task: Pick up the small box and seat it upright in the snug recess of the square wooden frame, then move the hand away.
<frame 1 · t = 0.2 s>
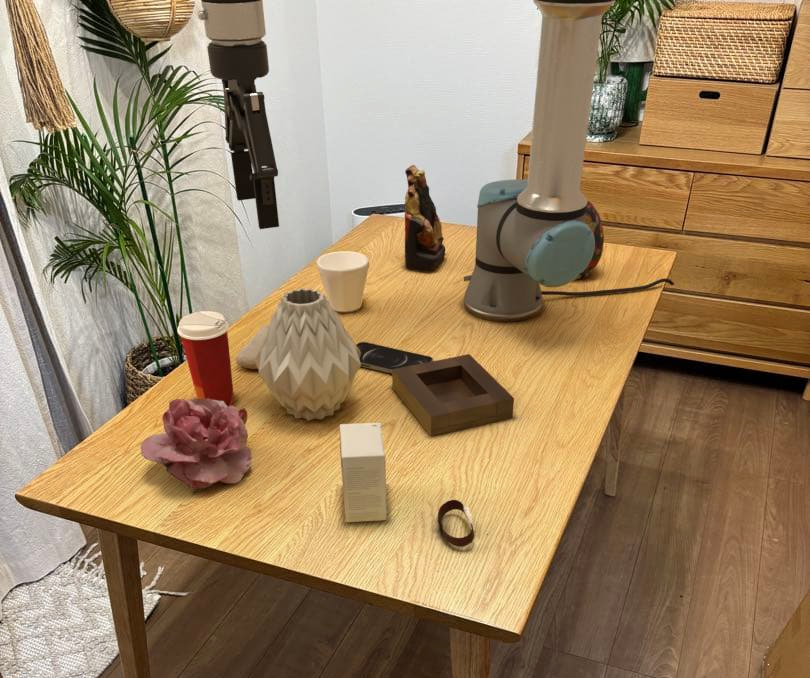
hand: (257, 212, 114), 28 cm above the table, tool pointing down, fingers open, 13 cm apart
small box: (364, 505, 107), on the table
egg: (573, 274, 168), on the table
flower: (204, 468, 114), on the table
smartphone: (387, 362, 138), on the table
statue: (426, 263, 174), on the table
cup: (345, 307, 156), on the table
washcloth: (288, 352, 142), on the table
square wooden frame: (450, 402, 128), on the table
vase: (313, 408, 127), on the table
paper cup: (216, 402, 128), on the table
watch: (456, 532, 103), on the table
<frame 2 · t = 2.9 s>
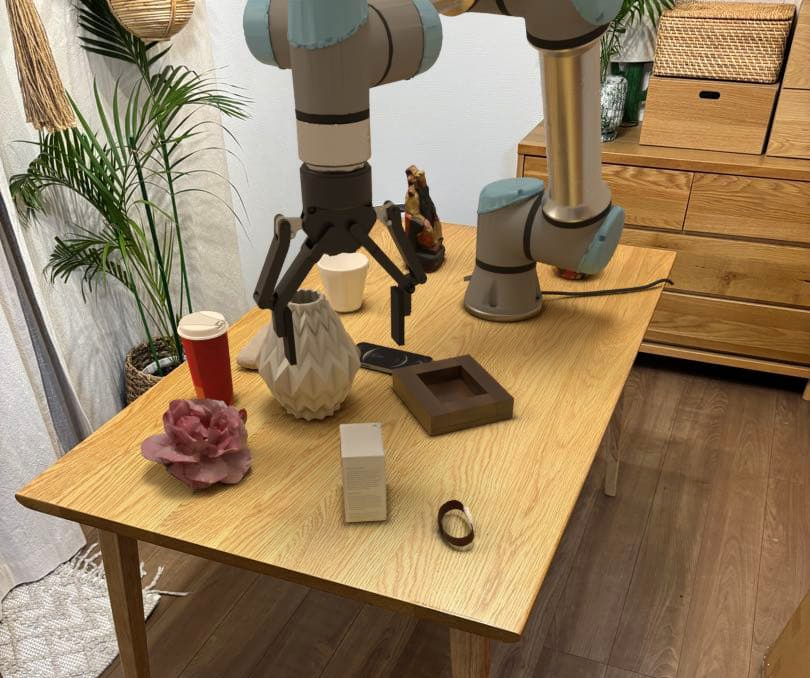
hand: (345, 350, 96), 21 cm above the table, tool pointing down, fingers open, 13 cm apart
nothing on the table moved.
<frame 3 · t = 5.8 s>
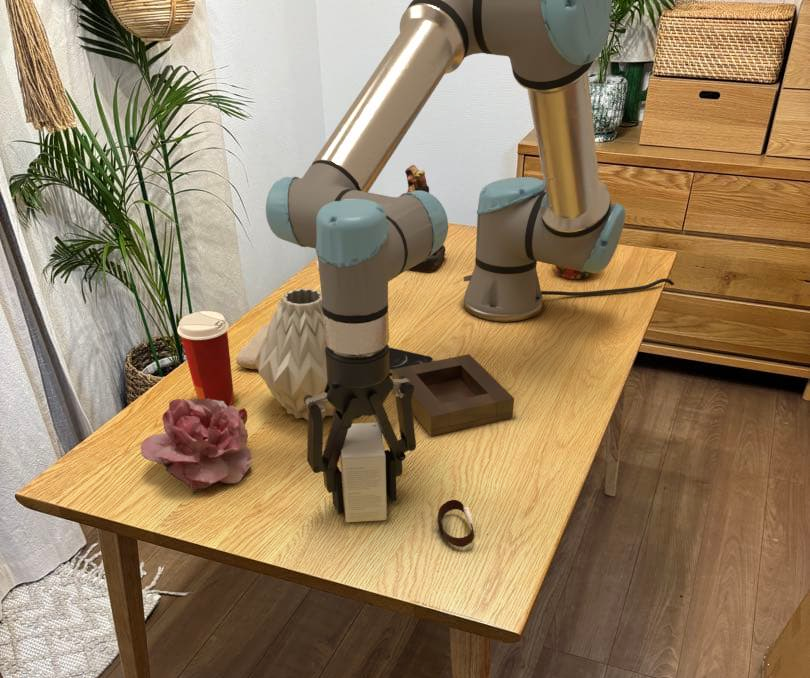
hand: (364, 501, 107), 1 cm above the table, tool pointing down, fingers closed on small box, 7 cm apart
small box: (364, 505, 107), on the table, touching gripper
everything else where it was.
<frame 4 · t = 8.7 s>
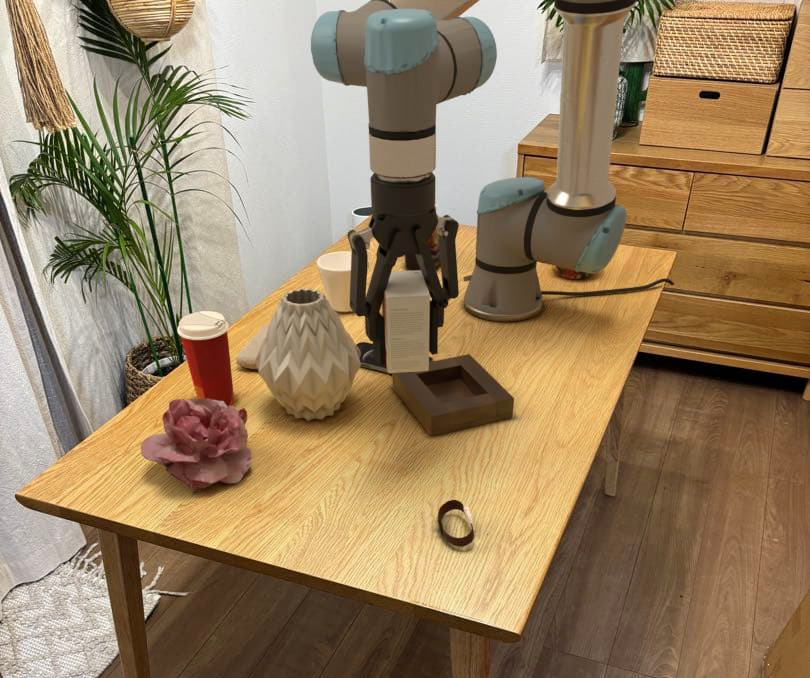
hand: (405, 355, 105), 16 cm above the table, tool pointing down, fingers closed on small box, 7 cm apart
small box: (405, 359, 106), point 16 cm above the table, touching gripper
everything else where it was.
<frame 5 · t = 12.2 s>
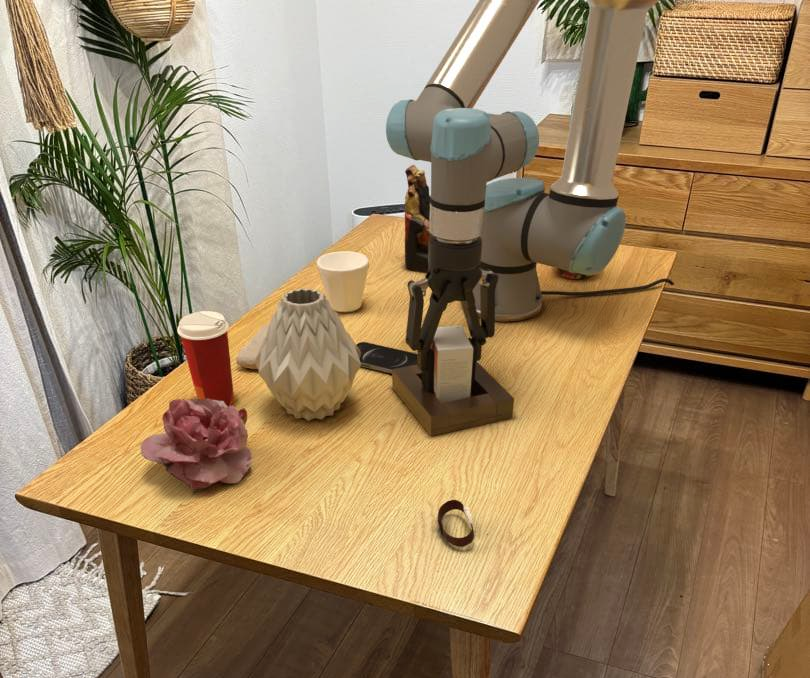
hand: (448, 383, 125), 4 cm above the table, tool pointing down, fingers closed on small box, 6 cm apart
small box: (447, 398, 127), point 1 cm above the table, touching gripper, square wooden frame
everything else where it was.
when the fingers open (4 cm above the table, at t = 13.5 s): small box stays where it is, resting on square wooden frame.
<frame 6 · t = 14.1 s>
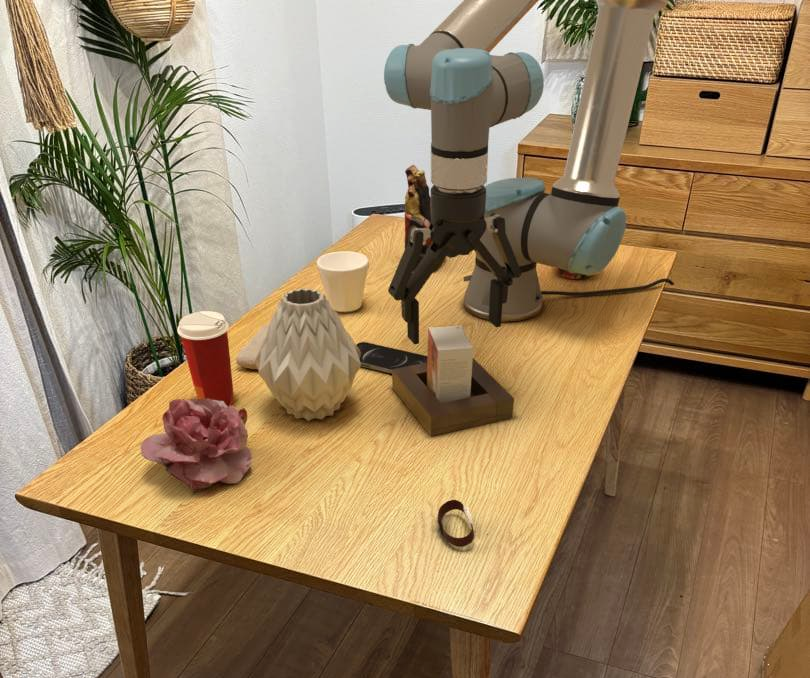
hand: (454, 332, 120), 12 cm above the table, tool pointing down, fingers open, 13 cm apart
small box: (447, 398, 127), point 1 cm above the table, touching square wooden frame
everything else where it was.
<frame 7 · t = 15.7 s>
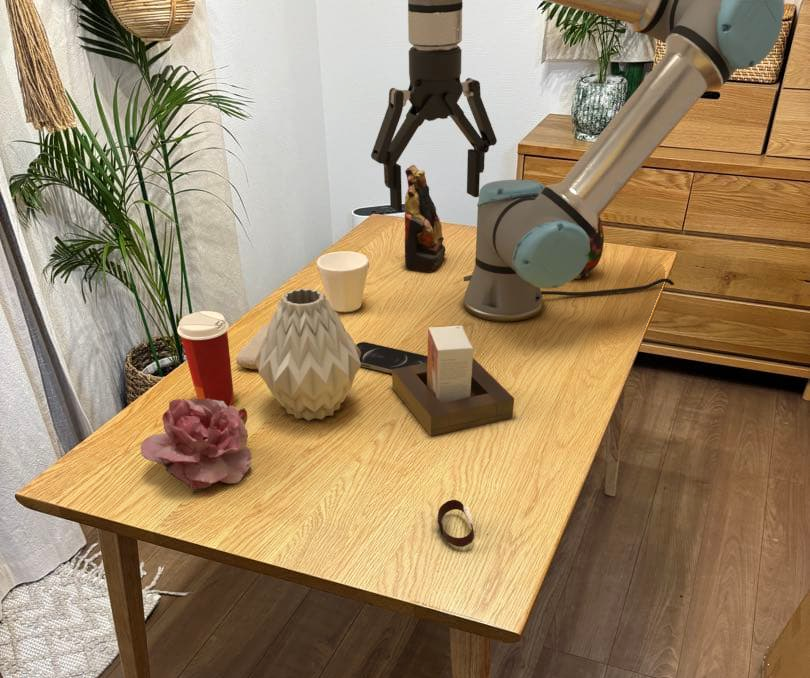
hand: (435, 201, 125), 26 cm above the table, tool pointing down, fingers open, 13 cm apart
nothing on the table moved.
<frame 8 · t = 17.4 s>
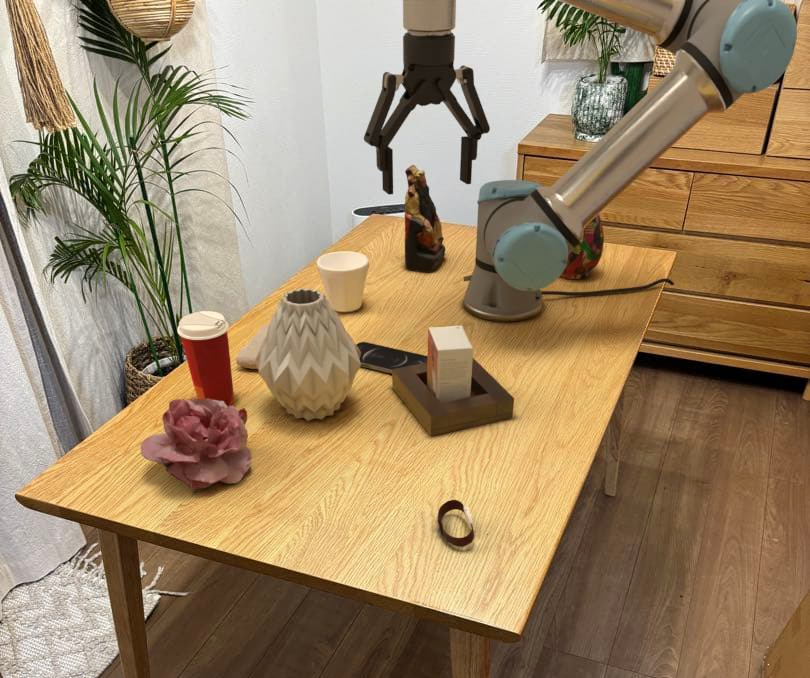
hand: (427, 187, 127), 27 cm above the table, tool pointing down, fingers open, 13 cm apart
nothing on the table moved.
at the end: small box 0.5 cm off-centre in the square wooden frame, point 0.8 cm above the square wooden frame's base; small box tilted 0°; the gripper is holding nothing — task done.
